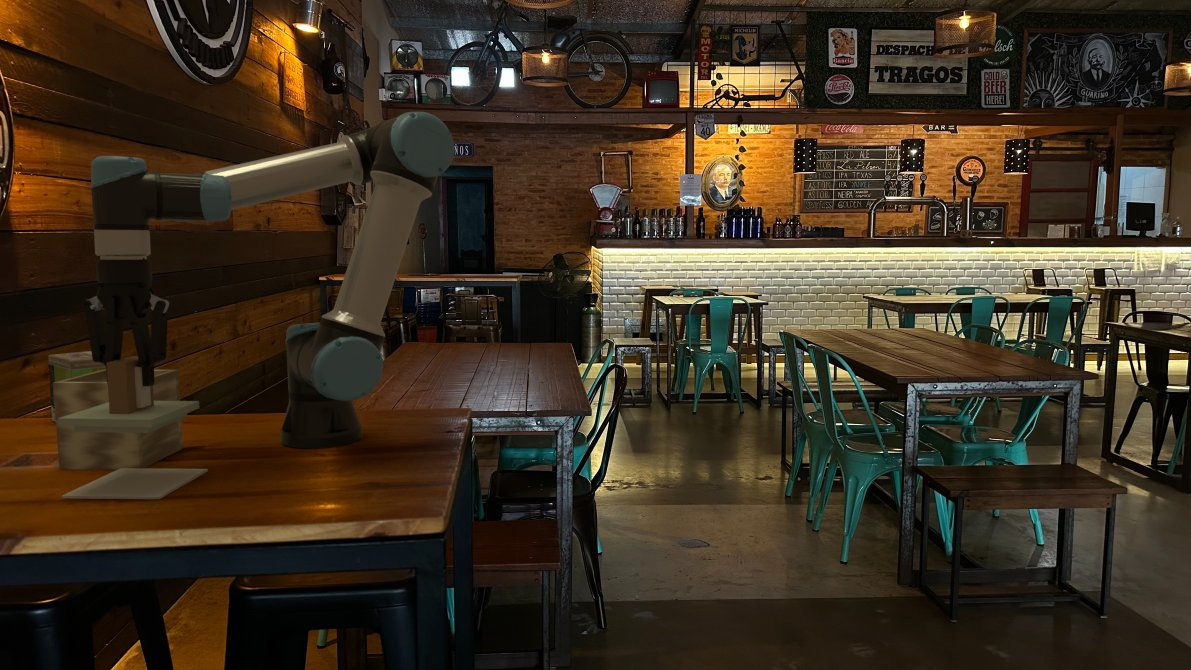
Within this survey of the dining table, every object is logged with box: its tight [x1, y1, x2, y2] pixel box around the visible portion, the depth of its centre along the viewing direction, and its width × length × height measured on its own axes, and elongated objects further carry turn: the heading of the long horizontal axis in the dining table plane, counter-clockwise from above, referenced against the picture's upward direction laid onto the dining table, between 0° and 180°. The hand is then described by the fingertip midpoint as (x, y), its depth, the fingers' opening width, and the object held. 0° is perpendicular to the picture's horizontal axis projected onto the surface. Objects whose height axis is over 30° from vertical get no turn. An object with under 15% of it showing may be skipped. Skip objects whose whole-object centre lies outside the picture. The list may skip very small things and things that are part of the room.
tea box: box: [47, 350, 123, 423], centre depth 175 cm, size 15×10×15 cm, turn 49°
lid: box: [58, 355, 200, 433], centre depth 131 cm, size 14×14×10 cm
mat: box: [61, 467, 209, 500], centre depth 133 cm, size 15×15×1 cm
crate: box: [53, 369, 184, 471], centre depth 147 cm, size 14×14×15 cm
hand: (132, 405), depth 131 cm, fingers closed on lid, 3 cm apart
